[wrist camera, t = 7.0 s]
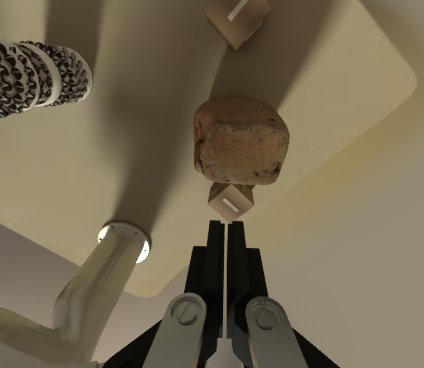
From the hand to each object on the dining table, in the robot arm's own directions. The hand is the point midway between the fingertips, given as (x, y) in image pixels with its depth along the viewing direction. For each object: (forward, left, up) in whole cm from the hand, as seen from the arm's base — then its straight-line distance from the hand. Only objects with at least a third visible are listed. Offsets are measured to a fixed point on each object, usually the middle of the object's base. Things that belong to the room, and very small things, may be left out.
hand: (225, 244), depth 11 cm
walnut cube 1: (-9, -10, -31) cm, 34 cm away
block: (+1, 0, -31) cm, 31 cm away
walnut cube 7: (+11, +10, -31) cm, 34 cm away
